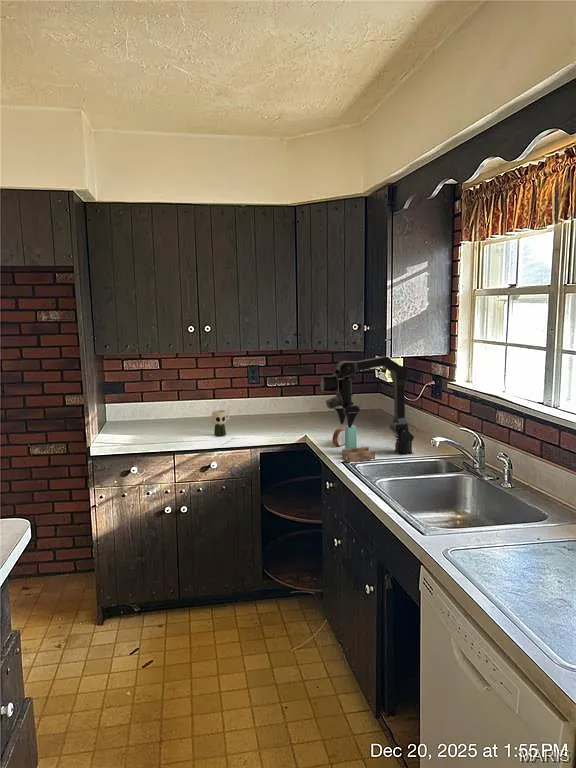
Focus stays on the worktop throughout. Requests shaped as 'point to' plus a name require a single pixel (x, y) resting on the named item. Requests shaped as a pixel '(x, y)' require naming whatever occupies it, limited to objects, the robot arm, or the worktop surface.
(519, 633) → the worktop surface
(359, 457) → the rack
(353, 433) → the block
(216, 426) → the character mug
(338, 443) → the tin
